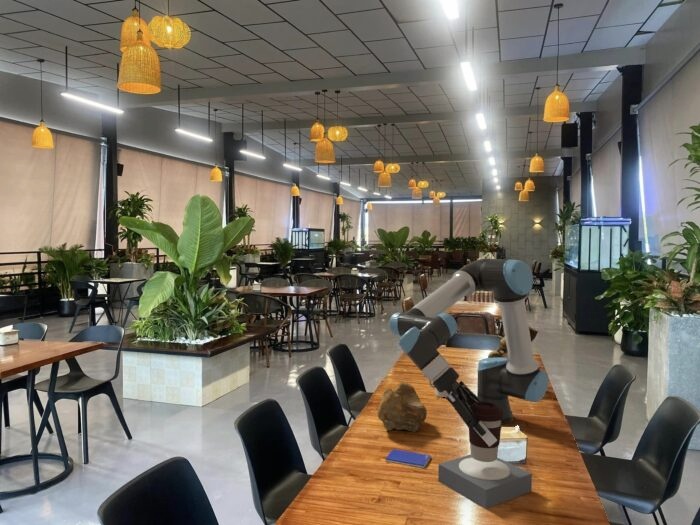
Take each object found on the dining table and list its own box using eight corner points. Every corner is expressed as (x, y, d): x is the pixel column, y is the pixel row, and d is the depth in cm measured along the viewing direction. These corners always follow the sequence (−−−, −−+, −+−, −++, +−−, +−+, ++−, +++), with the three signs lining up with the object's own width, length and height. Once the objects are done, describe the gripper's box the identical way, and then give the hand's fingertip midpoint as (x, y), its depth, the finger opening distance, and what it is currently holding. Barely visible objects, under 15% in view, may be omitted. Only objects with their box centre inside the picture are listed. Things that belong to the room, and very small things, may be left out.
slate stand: (482, 466, 160) (482, 449, 160) (531, 491, 145) (531, 472, 145) (438, 481, 151) (438, 463, 150) (485, 508, 135) (486, 488, 135)
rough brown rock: (413, 444, 179) (418, 401, 178) (369, 431, 187) (374, 390, 186) (435, 425, 200) (439, 386, 199) (394, 414, 207) (398, 377, 206)
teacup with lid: (457, 394, 234) (458, 368, 233) (451, 399, 226) (452, 373, 225) (432, 390, 239) (432, 365, 239) (425, 395, 231) (425, 369, 231)
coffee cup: (458, 456, 147) (460, 404, 147) (477, 447, 154) (479, 397, 154) (490, 468, 140) (491, 413, 140) (508, 457, 147) (510, 405, 147)
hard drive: (430, 454, 166) (393, 448, 171) (424, 464, 159) (385, 457, 164) (430, 459, 167) (393, 453, 171) (424, 469, 159) (385, 462, 164)
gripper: (440, 373, 163) (491, 430, 157) (421, 392, 142) (479, 459, 137) (457, 357, 160) (510, 415, 155) (441, 375, 140) (501, 443, 134)
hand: (495, 436), depth 146 cm, fingers closed on coffee cup, 10 cm apart
